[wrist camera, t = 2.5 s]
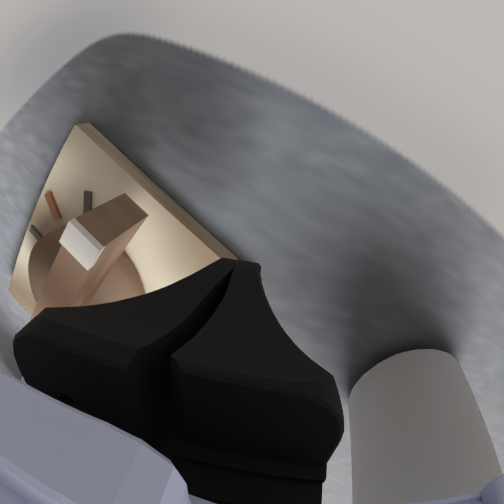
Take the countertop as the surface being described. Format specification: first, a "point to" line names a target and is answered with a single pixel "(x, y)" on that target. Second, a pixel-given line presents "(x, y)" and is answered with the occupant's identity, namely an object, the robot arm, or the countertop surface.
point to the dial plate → (102, 190)
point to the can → (417, 432)
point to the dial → (87, 258)
